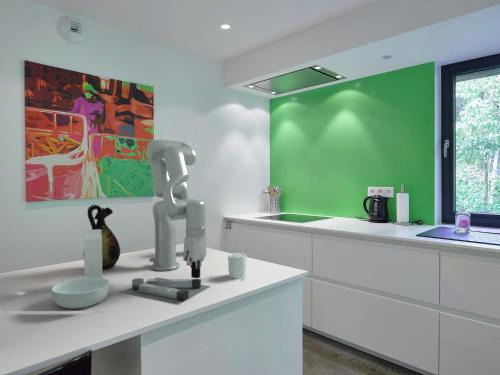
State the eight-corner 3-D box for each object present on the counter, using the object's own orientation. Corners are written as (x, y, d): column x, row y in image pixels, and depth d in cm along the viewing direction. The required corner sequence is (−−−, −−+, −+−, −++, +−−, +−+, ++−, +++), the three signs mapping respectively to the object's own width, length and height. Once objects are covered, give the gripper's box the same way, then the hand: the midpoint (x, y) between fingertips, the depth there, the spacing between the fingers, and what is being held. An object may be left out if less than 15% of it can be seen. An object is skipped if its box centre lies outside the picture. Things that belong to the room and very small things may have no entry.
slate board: (119, 295, 117) (119, 292, 117) (157, 279, 135) (157, 277, 135) (178, 307, 106) (178, 304, 106) (210, 289, 124) (210, 286, 124)
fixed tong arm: (138, 291, 117) (138, 284, 117) (143, 289, 119) (143, 282, 119) (183, 300, 108) (183, 293, 108) (188, 298, 111) (188, 290, 111)
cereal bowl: (49, 320, 96) (49, 296, 96) (53, 301, 111) (53, 280, 111) (111, 309, 104) (111, 288, 104) (107, 293, 119) (107, 274, 119)
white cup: (244, 282, 132) (244, 257, 132) (225, 280, 134) (225, 256, 134) (248, 276, 140) (248, 253, 140) (230, 275, 142) (230, 252, 141)
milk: (102, 287, 125) (102, 230, 125) (84, 289, 122) (84, 231, 122) (100, 282, 131) (100, 228, 130) (84, 284, 128) (83, 229, 127)
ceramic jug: (104, 263, 160) (103, 202, 159) (127, 267, 153) (127, 204, 152) (72, 272, 144) (71, 205, 144) (96, 277, 138) (95, 206, 137)
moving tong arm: (130, 289, 119) (130, 281, 119) (135, 285, 124) (135, 277, 124) (198, 290, 119) (198, 281, 119) (200, 285, 124) (200, 277, 124)
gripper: (198, 228, 138) (198, 271, 138) (176, 233, 124) (176, 281, 125) (213, 229, 135) (213, 273, 135) (192, 235, 121) (192, 284, 122)
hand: (195, 277), depth 130 cm, fingers closed
